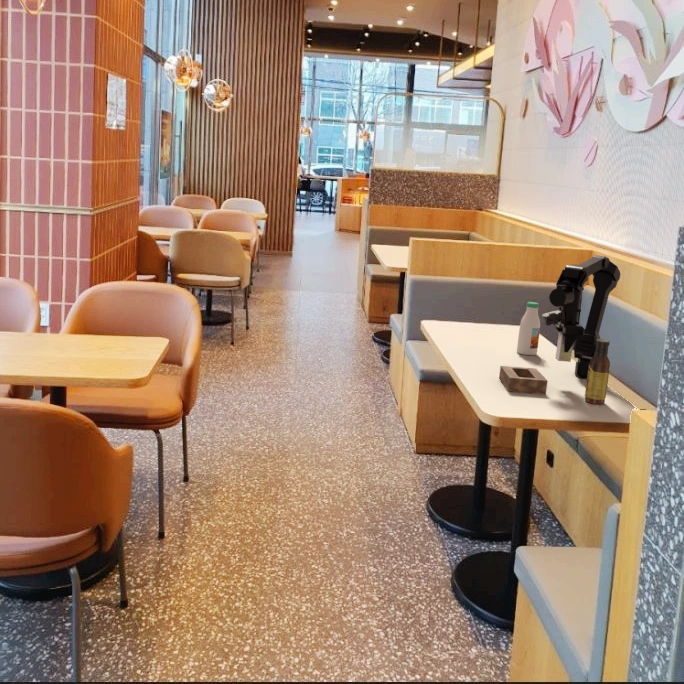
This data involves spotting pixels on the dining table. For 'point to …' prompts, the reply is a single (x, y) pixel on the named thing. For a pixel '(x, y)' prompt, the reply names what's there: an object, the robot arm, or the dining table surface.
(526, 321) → the milk bottle
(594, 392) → the sauce bottle
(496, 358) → the dining table surface
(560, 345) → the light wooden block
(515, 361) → the dining table surface
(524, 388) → the well board
